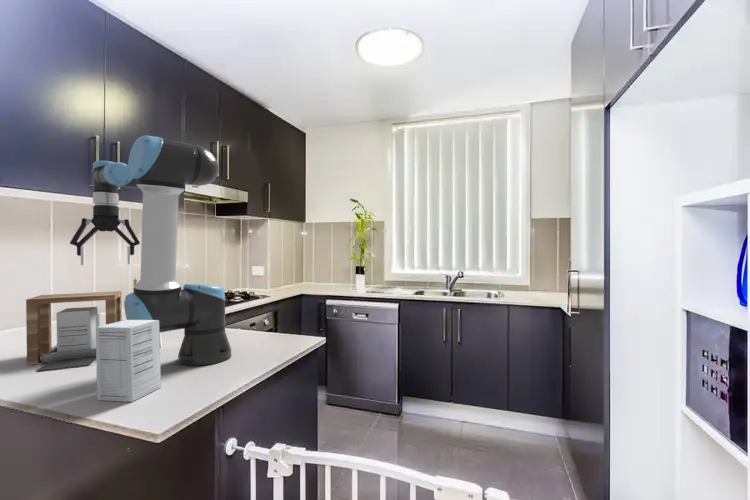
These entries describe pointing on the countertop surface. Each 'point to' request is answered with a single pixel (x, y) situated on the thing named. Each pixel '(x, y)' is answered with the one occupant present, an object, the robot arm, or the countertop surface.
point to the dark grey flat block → (66, 364)
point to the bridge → (41, 318)
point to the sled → (69, 353)
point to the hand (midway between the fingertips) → (106, 264)
